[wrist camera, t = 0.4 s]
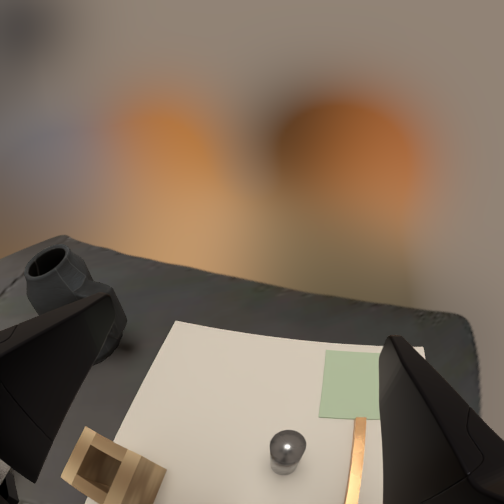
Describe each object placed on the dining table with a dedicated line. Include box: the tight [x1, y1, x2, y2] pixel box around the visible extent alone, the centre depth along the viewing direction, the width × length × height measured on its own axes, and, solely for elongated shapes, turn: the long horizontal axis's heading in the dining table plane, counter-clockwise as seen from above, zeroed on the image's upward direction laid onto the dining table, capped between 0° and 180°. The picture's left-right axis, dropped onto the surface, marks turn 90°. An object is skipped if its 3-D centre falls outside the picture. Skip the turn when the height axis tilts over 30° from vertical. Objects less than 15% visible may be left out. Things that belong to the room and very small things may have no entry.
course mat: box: [85, 321, 425, 504], centre depth 16 cm, size 25×26×1 cm
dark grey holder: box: [24, 244, 127, 366], centre depth 24 cm, size 12×9×11 cm
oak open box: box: [61, 427, 167, 504], centre depth 13 cm, size 5×5×5 cm
